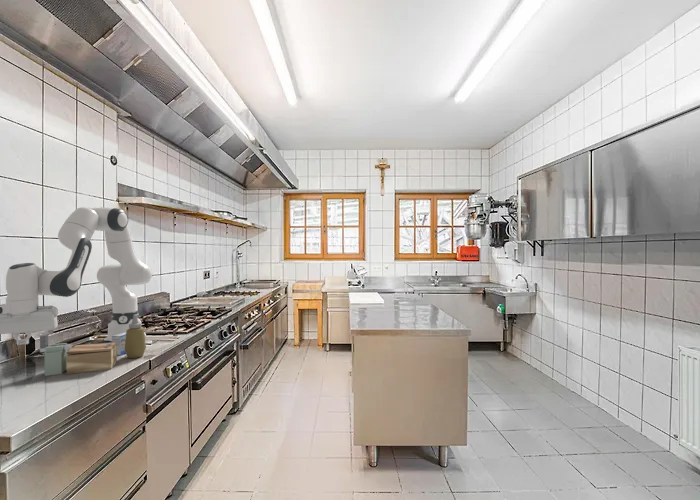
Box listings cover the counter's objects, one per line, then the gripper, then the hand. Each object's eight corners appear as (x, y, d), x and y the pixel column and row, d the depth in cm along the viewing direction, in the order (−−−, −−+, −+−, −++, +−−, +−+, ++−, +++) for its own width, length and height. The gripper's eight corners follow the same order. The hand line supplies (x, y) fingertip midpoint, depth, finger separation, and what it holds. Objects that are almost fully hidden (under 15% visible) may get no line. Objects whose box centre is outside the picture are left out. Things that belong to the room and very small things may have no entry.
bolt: (43, 350, 133) (42, 334, 133) (72, 347, 136) (72, 332, 136) (40, 352, 130) (39, 336, 130) (69, 349, 134) (69, 333, 134)
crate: (75, 366, 140) (75, 348, 140) (116, 361, 145) (116, 344, 145) (66, 374, 130) (66, 355, 130) (111, 369, 136) (111, 351, 136)
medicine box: (120, 355, 154) (120, 336, 154) (111, 355, 155) (111, 335, 155) (134, 350, 162) (134, 331, 161) (126, 350, 162) (126, 331, 162)
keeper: (52, 369, 136) (51, 343, 136) (67, 368, 138) (67, 342, 137) (44, 375, 129) (44, 348, 129) (61, 373, 131) (61, 346, 131)
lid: (75, 347, 140) (75, 344, 140) (116, 344, 145) (116, 341, 145) (66, 354, 130) (66, 350, 130) (110, 350, 136) (111, 347, 136)
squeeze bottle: (123, 360, 147) (123, 317, 147) (125, 355, 154) (125, 314, 154) (145, 357, 150) (145, 316, 150) (146, 352, 158) (146, 313, 158)
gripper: (60, 304, 136) (60, 339, 136) (-9, 307, 128) (-9, 345, 128) (54, 306, 131) (54, 343, 131) (-19, 310, 122) (-19, 349, 122)
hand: (22, 344), depth 129 cm, fingers closed
